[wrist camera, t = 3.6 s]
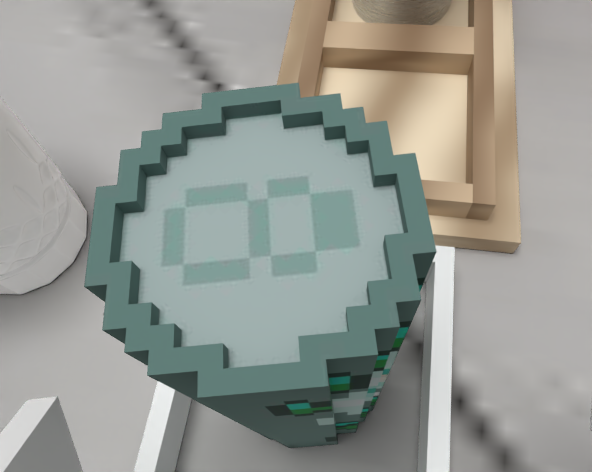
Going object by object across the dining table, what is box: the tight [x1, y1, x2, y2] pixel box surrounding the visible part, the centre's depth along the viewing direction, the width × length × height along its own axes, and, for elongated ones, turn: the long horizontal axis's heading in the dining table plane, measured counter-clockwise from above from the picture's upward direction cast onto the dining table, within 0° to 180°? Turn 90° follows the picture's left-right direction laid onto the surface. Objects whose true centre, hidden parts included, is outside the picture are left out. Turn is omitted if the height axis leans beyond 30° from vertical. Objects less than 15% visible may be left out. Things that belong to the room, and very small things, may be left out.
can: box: [84, 83, 437, 448], centre depth 16 cm, size 6×6×15 cm
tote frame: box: [134, 245, 455, 472], centre depth 21 cm, size 12×12×2 cm
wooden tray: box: [277, 0, 521, 253], centre depth 28 cm, size 13×22×3 cm, turn 171°
